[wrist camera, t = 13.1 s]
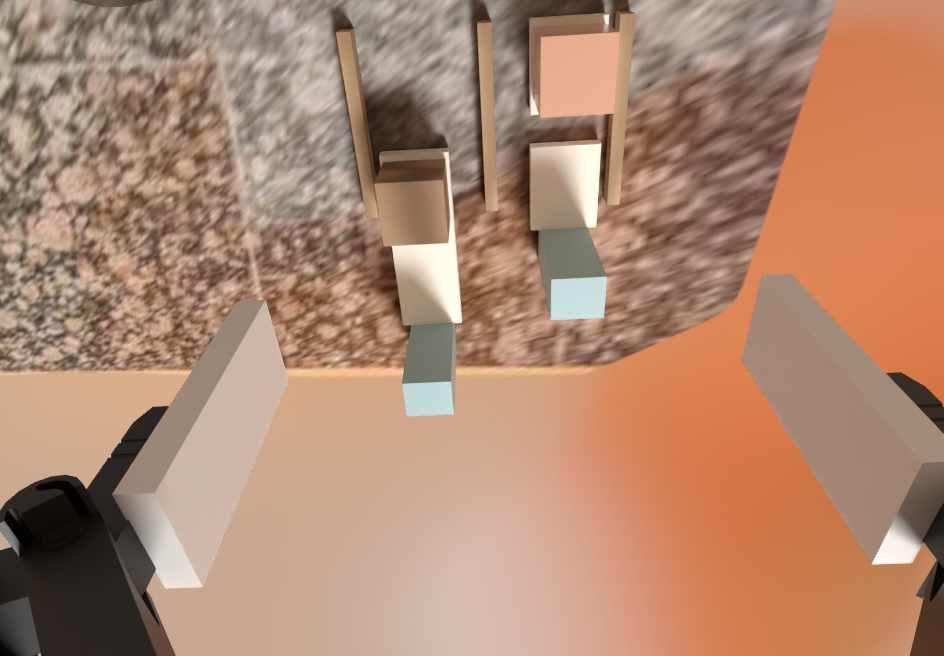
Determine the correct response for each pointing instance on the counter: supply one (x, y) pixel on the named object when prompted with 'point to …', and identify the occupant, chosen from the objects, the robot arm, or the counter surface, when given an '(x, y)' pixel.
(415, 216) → the block walnut
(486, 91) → the lane frame
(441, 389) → the multicoloured block
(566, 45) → the block clay
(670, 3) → the counter surface
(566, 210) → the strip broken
